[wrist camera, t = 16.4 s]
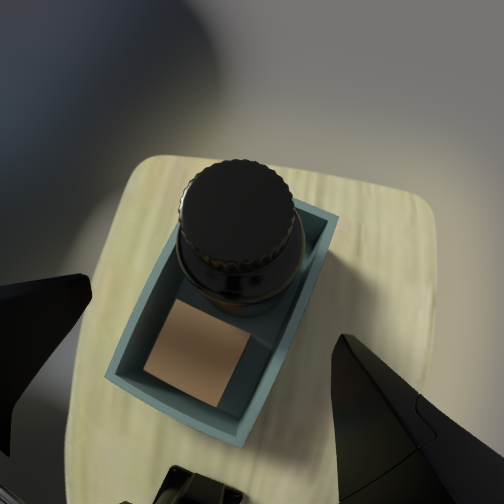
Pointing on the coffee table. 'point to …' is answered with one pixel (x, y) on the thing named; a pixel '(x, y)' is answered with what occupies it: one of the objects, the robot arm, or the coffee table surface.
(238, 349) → the walnut cube
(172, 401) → the tote
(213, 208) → the supplement bottle
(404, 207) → the coffee table surface
